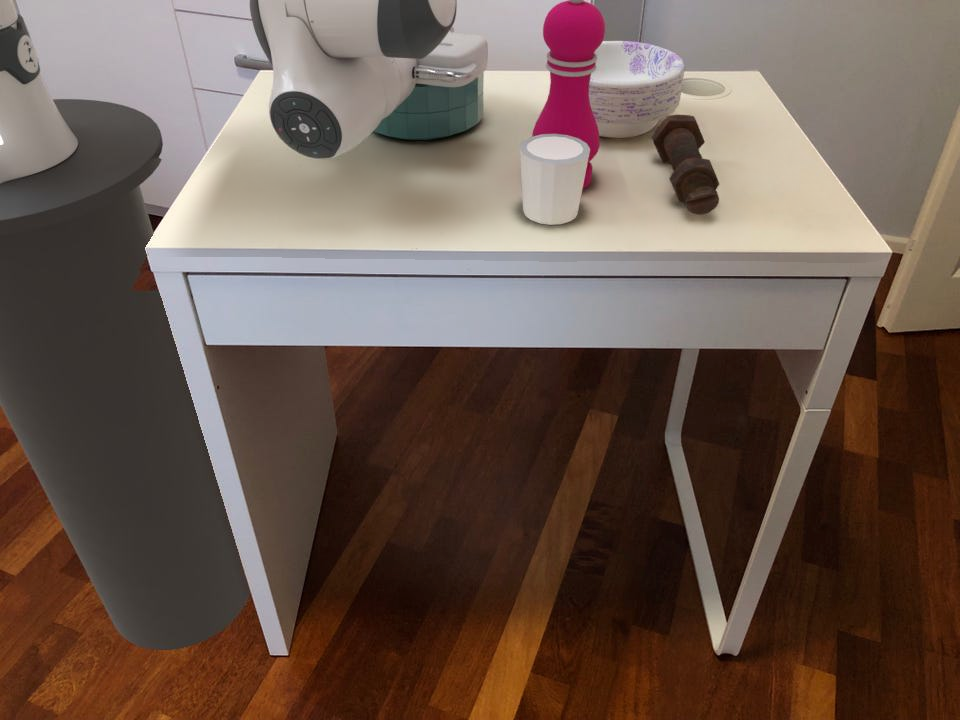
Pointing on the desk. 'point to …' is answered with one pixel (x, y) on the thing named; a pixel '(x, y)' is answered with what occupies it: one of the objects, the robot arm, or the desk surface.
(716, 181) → the bolt
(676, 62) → the paper bowls
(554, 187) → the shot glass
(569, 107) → the pepper mill
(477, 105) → the bowl
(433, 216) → the desk surface
